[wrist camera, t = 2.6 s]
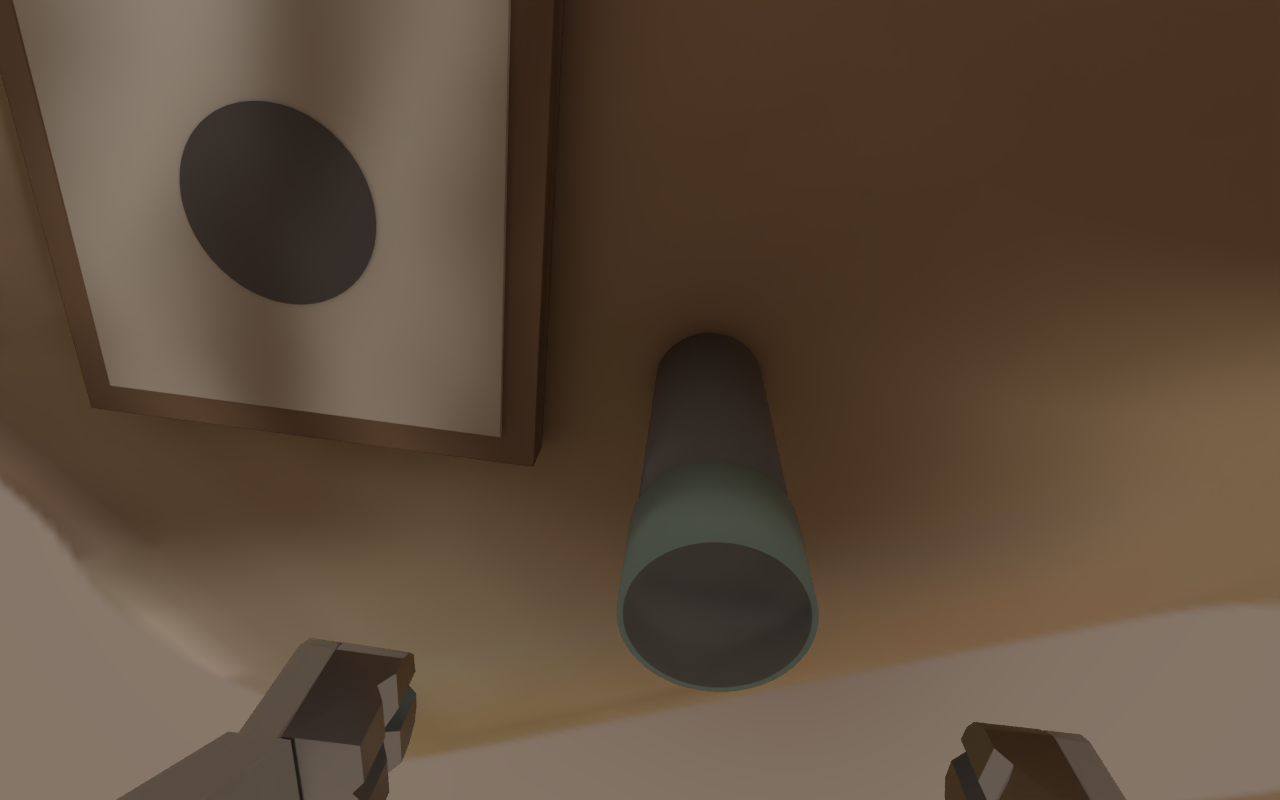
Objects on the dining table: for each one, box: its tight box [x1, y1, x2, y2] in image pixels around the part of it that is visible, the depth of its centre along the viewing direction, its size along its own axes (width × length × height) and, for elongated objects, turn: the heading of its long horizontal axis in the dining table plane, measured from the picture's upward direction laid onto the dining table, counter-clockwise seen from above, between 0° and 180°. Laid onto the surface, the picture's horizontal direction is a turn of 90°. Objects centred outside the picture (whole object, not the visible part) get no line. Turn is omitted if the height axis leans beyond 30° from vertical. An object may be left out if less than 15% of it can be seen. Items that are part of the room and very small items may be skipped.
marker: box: [617, 333, 818, 692], centre depth 16 cm, size 3×3×10 cm
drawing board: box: [0, 0, 564, 467], centre depth 18 cm, size 14×14×2 cm
